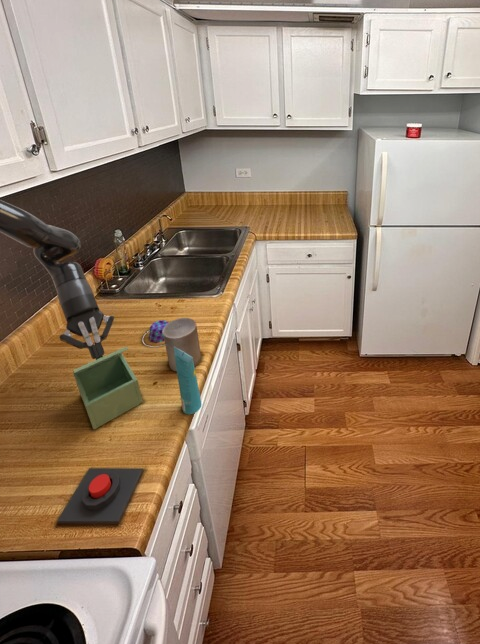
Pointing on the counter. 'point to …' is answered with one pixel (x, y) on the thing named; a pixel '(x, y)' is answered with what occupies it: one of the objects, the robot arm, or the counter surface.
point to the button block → (102, 498)
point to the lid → (99, 360)
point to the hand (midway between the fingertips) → (99, 358)
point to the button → (100, 486)
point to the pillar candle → (182, 340)
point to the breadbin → (108, 390)
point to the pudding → (156, 332)
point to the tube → (187, 382)
